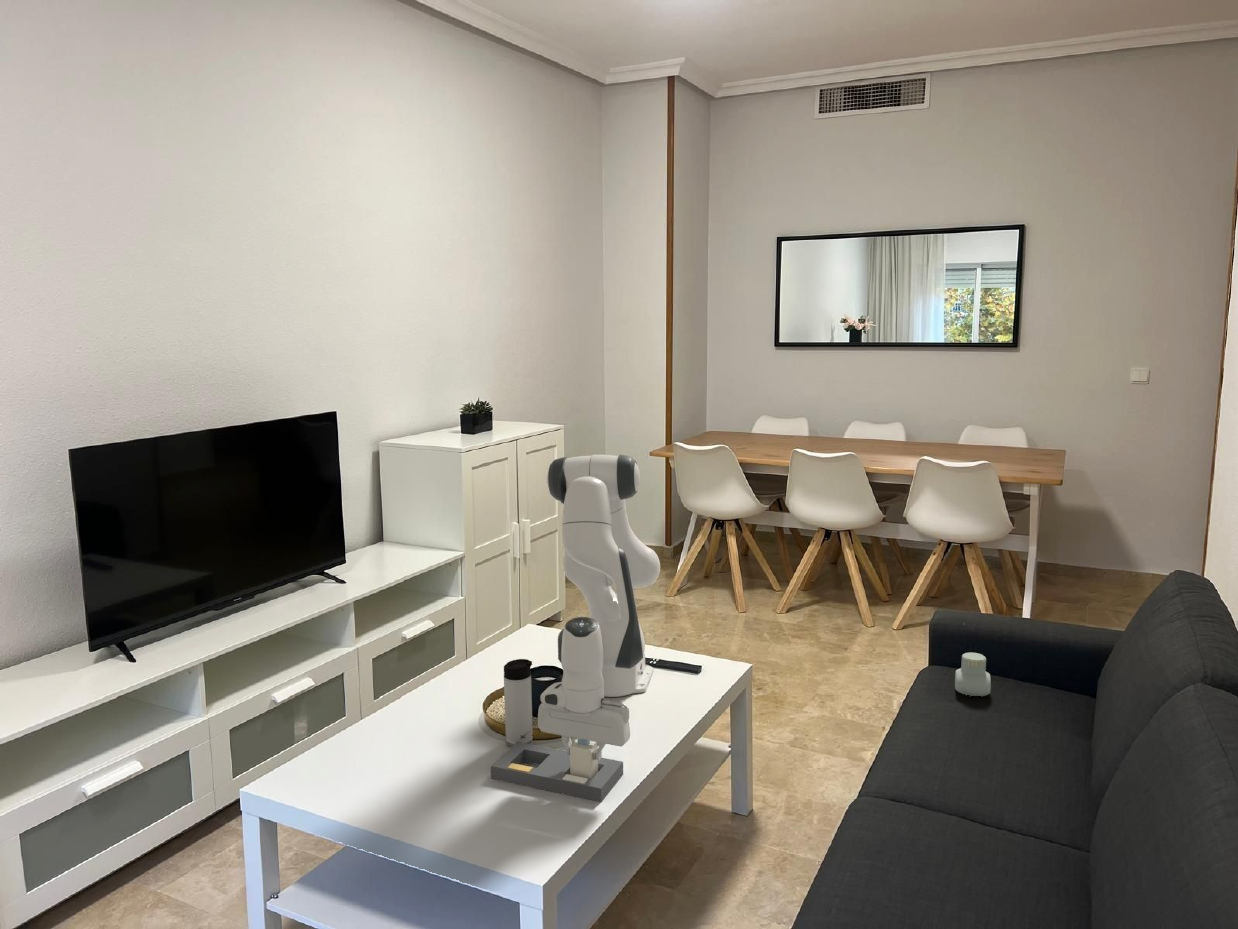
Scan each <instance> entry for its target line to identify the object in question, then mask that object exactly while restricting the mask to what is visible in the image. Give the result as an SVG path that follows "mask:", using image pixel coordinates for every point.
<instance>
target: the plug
mask: <svg viewBox="0 0 1238 929" xmlns="http://www.w3.org/2000/svg"><path fill="white" fill-rule="evenodd" d="M598 748H599V746H597V742H594V741H588V740H583V739H577V738H575V740H574V741H572V744H571V745H570V775H573V776H578V777H583V778H588V779H593V778H594V777H595V775H596V774H597V773H598V760H593V759H592V757H593V756H592V752H593V751H594V750H595V749H598Z"/></svg>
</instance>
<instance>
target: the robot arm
mask: <svg viewBox="0 0 1238 929" xmlns="http://www.w3.org/2000/svg"><path fill="white" fill-rule="evenodd" d="M640 483H641V470H640V468H639V466H638V462H637V461H636V460H635V459H634V458H633V456H629V455H625V454H618V455H614V454H592V455H580V456H579V455H577V456H573V457H568V456H564V457H558V458H556V459H554V460H553V461H552V462H551V463H550V464H549V468H548V471H547V475H546V484H547V488H548V491H549V494H550V495H551V496H552V498H554V499H555V500H556V501H559V502H560V503H561V504H562V505H563V508H562V523H561V524H562V525H561V531H562V532H561V533H562V535H561V537H562V544H563V548H564V551H565V553H564V555H563V557H562V568H563V569H562V571H563V573H564V575H565V577H566V578H567V580H569V581H570V582H571V583H573V585H575V586H576V587H577V589H579V590H580V592H581V593H582V595H583V597H584V598H585V601H586V603H587V606H588V609H589V617H588V616H580V617H575V618H574V617H573V618H571V619H570V620H568V621H567V622H565V624H564V627H563V628H562V629H561V630H560V632H559V633H558V636H557V659H558V661H559V663H560V664H561V668H562V671H563V675H562V679H561V681H559V682H554V683H552V684H551V685H550V686H548V687H547V688H546V689H545V690H544V691H543V692H542V693H541V694H540V702H541V703H540V704H539V706H538V711H537V712H538V713H537V728H539V730H540V731H541V732H542V733H544V734H545V733H546V734H551V735H556V736H561V741H562V742H563V744H564V746H565V748H566V751H567V755H570V745H571V744H572V743H573V741H572V740H571V738H573V739H583V740H588V741H594V742H597V746H598V749H595V750H594V751H593V752H592V756H593V757H592V759H593V760H598V761H599V760H600V759H601V758H603V757H602V756H603V755H602V754H603V752H602V751H603V749H604V748H605V745H610V746H615V747H623V746H624V745H625V744H627V742H629V740H630V738H631V727H630V721H629V719H630V708H629V707H628V706H627V705H626V704H624V702H622V701H619V700H617V701H616V700H612V699H608V697H609V698H610V697H614V698H615V697H616V698H617V697H625V696H628V695H629V696H630V695H632V694H639V693H640V694H641V693H645V692H646V691H647V689H648V687H649V684H650V681H651V680H652V677H653V674H654V671H655V670H654V667H652V666H651V665H648V664H646V654H645V651H646V648H645V646H646V642H645V637H644V633H643V629H642V627H641V624H640V621H639V617H638V610H637V604H636V603H637V602H636V598H635V591H634V589H635V588H645V587H651V586H652V585H653V584H654V583H655V582H656V581H657V579H658V577H659V576H660V573H661V572H660V571H661V561H660V559H659V556H658V554H657V553H656V552H655V550H654V549H652V548H651V547H649V546H647V545H646V544H645V543H643V542H642V541H641V540H640V539H639V538H638V537H637V535H636V534H635V532H634V531H633V530H632V527H631V526H630V523H629V522H630V520H629V518H628V512H627V505H626V500H628V499H631V498H633V497H634V496H635V495H636V494H637V493H638V489H639V487H640V485H641V484H640ZM612 587H614V590H615V591H614V590H613V588H612ZM605 697H607V698H605Z"/></svg>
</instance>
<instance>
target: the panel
mask: <svg viewBox="0 0 1238 929" xmlns="http://www.w3.org/2000/svg"><path fill="white" fill-rule="evenodd" d="M524 763H530V764H534V765H538V766H537V767H533V766H527V765H523V764H524ZM623 775H624V761H621V760H616V759H611V758H606V757H601V759H600V760H599V761H598V773H597V774H596V775H595V777H594V778H593V779H588V778H583V777H578V776H573V775H570V755H567V750H565V749H558V748H554V747H549V746H544V745H538V744H533V743H532V744H528V743H523V742H518V741H517V742H516V743H515V744H514V745H513V746H512V747H509V748H508V749H507V750H506V751H505V752H504V753H502V755H501V756H500V757H499V758H498V759H495V761H494V762H493V763H492V764H490V779H491V780H495V781H499V782H500V781H501V782H506V783H510V784H513V785H519V786H524V787H529V788H534V789H539V790H542V791H546V792H551V793H557V794H562V795H567V796H570V797H577V798H581V799H585V800H590V801H595V802H599V803H602V802H603V801H604V799H605V798H606V797H607V796H608V795H609V793H610V792H611V791H612V789H613V788H614V787H615V786H616V784H617V783H618V782H619V781H620V780H621V778H622V777H623Z"/></svg>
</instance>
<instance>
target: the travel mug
mask: <svg viewBox="0 0 1238 929" xmlns="http://www.w3.org/2000/svg"><path fill="white" fill-rule="evenodd" d="M532 665H533V661H531V660H530V659H527V658H518V659H512V660H509V661H508V662H506V664H504V666H503V692H504V693H503V695H504V727H505V744H506V745H507V747H509V748H510V747H512V746H513V745H514V744H515V743H516V742H517V741H518V742H523V743H528V744H533V742H534V740H533V738H534V736H532V735H533V733H534V732H533V704H532V699H533V698H532V674H531V666H532Z"/></svg>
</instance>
